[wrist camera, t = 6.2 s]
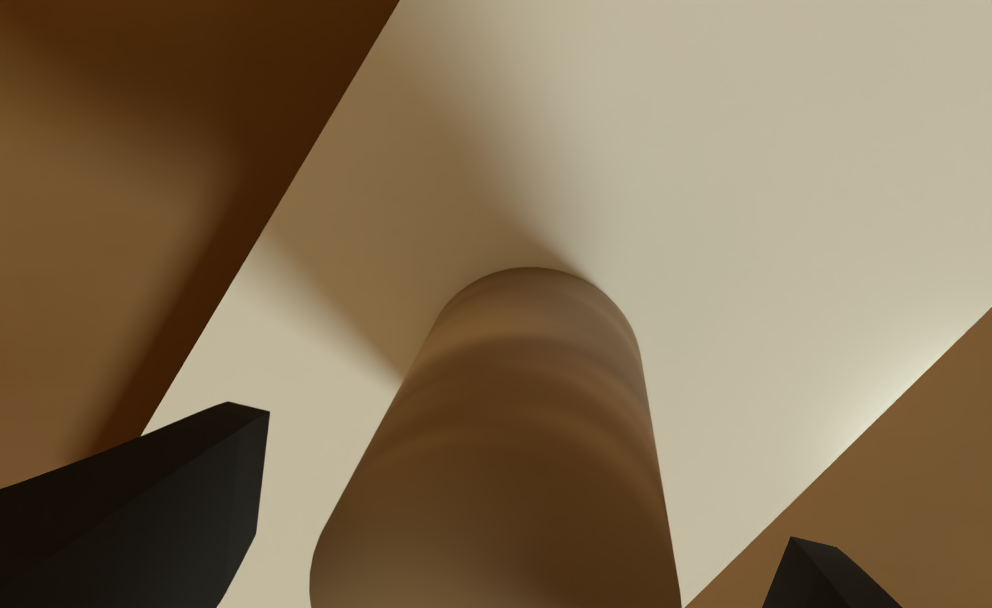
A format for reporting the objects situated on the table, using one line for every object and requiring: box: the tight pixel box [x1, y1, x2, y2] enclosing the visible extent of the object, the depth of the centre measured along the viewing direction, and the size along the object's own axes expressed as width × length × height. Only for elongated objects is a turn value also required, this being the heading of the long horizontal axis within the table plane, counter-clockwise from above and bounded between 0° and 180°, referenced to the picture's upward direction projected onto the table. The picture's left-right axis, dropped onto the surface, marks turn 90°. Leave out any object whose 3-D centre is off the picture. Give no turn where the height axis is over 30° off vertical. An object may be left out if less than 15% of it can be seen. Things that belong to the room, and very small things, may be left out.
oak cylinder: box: [309, 267, 682, 608], centre depth 12 cm, size 4×4×7 cm
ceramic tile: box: [141, 0, 992, 608], centre depth 16 cm, size 12×20×2 cm, turn 145°
